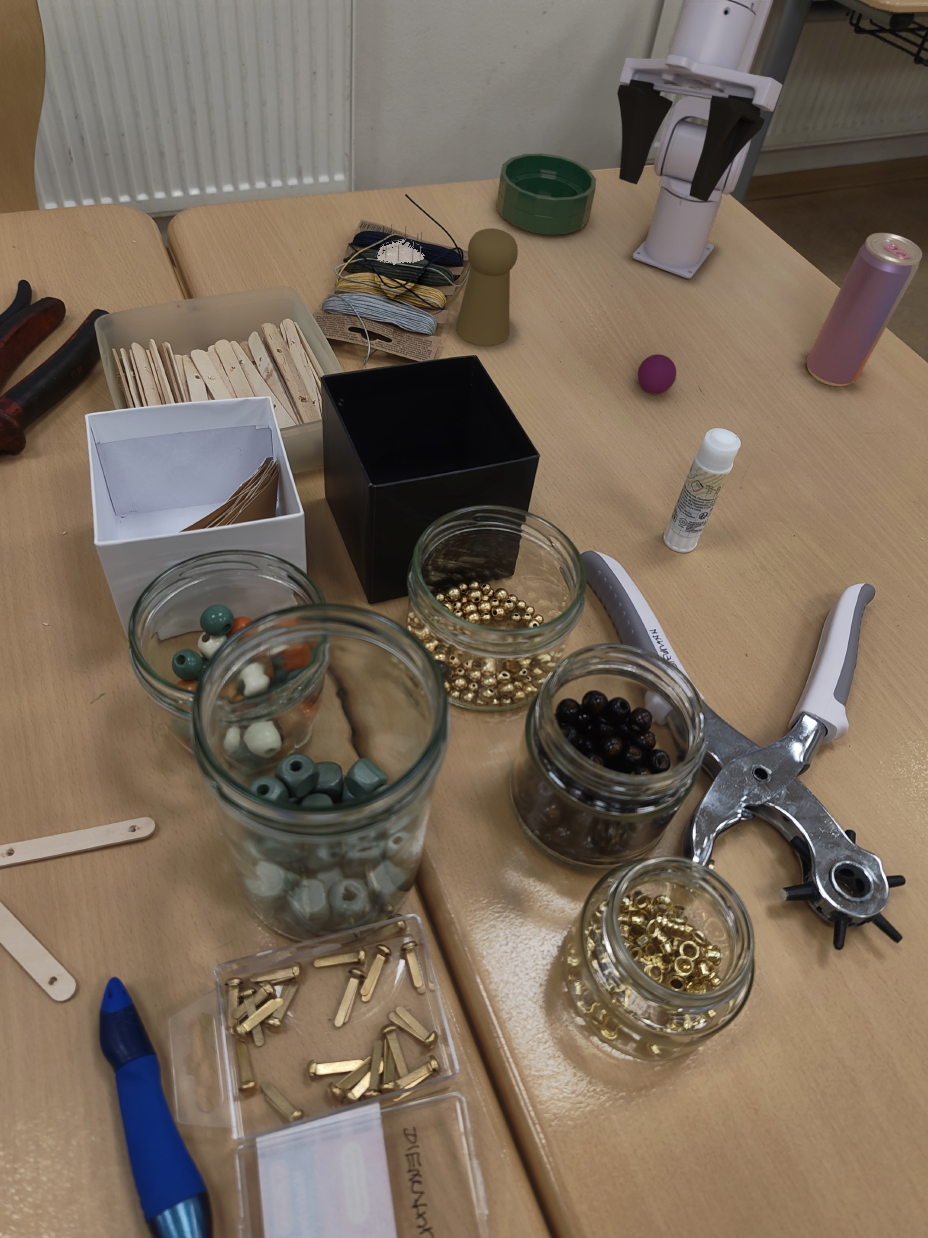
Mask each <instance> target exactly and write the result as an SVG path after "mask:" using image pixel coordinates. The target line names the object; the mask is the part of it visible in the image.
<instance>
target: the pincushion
mask: <svg viewBox="0 0 928 1238" xmlns="http://www.w3.org/2000/svg"><path fill="white" fill-rule="evenodd" d="M390 227H391V228H390V241H391V242H392V244H389V245H386V246H384V244H385V243H386V244H387V243H388V242H387V238H388V237H387V235H385V225H383V227H382V228H383V230H382V245H383V246H382V245H381V246H382V247H381V246H380V248H379V249H380V250H379V249H378V250H379V252H378V251H377V252H378V255H380V256H378V255H377V258H378V259H377V260H381V261H383V260H384V261H385V262H386V261H388V262H386V263H389V262H390V263H391V262H392V263H393V265H395V264H396V263H401V262H402V263H404V262H407V263H408V262H409V263H411V262H412V263H414V262H417V261H420V260H423V259H424V257H423V256H425V255H424V254H423V253H422V254H423V255H422V254H421V248H422V245H420V252H417V251H418V250H416V249H413V248H414V247H413V246H414V241H413V246H412V247H413V248H412V247H411V245H410V246H409V244H410V243H409V242H406V243H405V244H404V245H402V243H404V242H405V240H406V239H407V238H406V236H407V227H405V230H404V231H405V232H404V238H403V239H401V240H402V241H399V240H397V241H398V242H396V243H394V242H393V241H392V238H393V235H392V234H393V224H391V226H390ZM416 236H417V238H416V244H417V245H419V244H418V242H419V234H417V235H416ZM384 237H385V238H384ZM404 239H405V240H404ZM422 239H423V232H422V231H421V233H420V240H422ZM384 240H385V241H384ZM384 242H385V243H384ZM399 242H400V243H399ZM408 246H409V247H408ZM392 247H393V248H392ZM410 247H411V248H410ZM383 250H385V251H383ZM383 252H384V253H383ZM382 253H383V254H382ZM381 261H380V262H381ZM385 262H384V263H385Z"/></svg>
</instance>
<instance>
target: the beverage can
mask: <svg viewBox="0 0 928 1238" xmlns="http://www.w3.org/2000/svg"><path fill="white" fill-rule="evenodd" d="M922 258H923V251H922V249H921V248H920V247H919V246H918V245H917V244H916V243H915V242H913V241H912V240H910V239H908V238H906V237H903V236H902V235H899V234H894V233H889V232H875V233H871V234H870V235H869V236H867V238H866V239H865V242H864V243H863V244H862V245H861V246H860V247H859V250H858V252H857V253H856V255H855V257H854V259H853V262H852V264H851V266H850V268H849V270H848V273H847V274H846V277H845V278H844V280H843V283H842V285H841V287H840V289H839V291H838V293H837V295H836V297H835V299H834V301H833V304H832V306H831V307H830V310H829V312H828V314H827V316H826V318H825V320H824V322H823V324H822V326H821V328H820V330H819V333H818V335H817V337H816V339H815V341H814V343H813V345H812V347H811V349H810V351H809V354H808V356H807V358H806V367H807V370H808V372H809V374H810V375H811V376H812V377H813V378H814V379H815V380H817V381H819V382H820V383H822V384H824V385H828V386H832V387H846V386H848V385H851V384H853V383H854V382H855V381H858V379H859V378H860V376H861V374H862V371H863V370H864V368H865V366H866V364H867V363H868V360H869V359H870V357H871V356H872V354H873V352H874V350H875V349H876V346H877V344H878V342H879V340H880V339H881V337H882V335H883V334H884V332H885V330H886V328H887V326H888V325H889V323H890V320H891V318H892V317H893V315H894V313H895V311H896V309H897V308H898V306H899V304H900V302H901V301H902V298H903V297H904V295H905V293H906V291H907V290H908V288H909V286H910V284H911V282H912V280H913V279H914V277H915V275H916V273H917V271H918V269H919V266H920V261H921V259H922Z"/></svg>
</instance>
